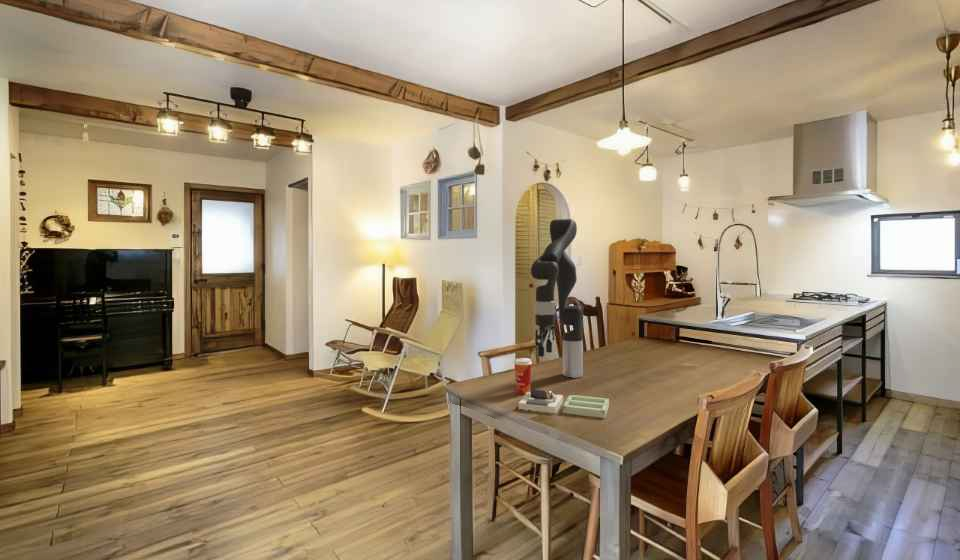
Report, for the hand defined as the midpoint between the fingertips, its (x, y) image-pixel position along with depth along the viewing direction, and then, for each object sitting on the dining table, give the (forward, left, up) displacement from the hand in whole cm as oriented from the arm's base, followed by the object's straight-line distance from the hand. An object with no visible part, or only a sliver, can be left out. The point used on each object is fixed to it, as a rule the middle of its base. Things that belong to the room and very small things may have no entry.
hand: (545, 354), depth 177 cm
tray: (+2, +16, -19) cm, 25 cm away
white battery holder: (+3, -1, -19) cm, 20 cm away
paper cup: (-10, -12, -20) cm, 25 cm away
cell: (+3, -1, -17) cm, 17 cm away
